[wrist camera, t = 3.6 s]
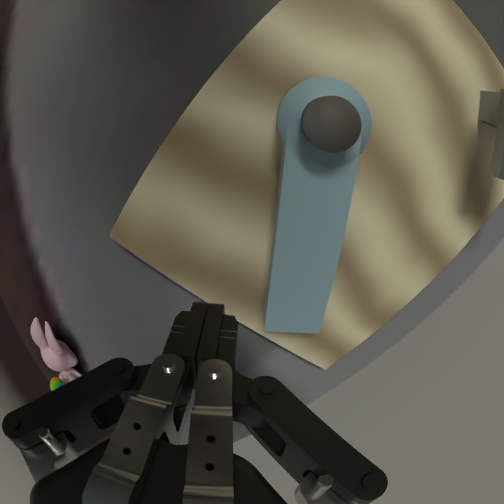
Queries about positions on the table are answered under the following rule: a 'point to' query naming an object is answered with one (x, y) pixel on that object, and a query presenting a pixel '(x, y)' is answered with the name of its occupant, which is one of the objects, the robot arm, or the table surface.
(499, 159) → the block
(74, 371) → the rabbit figure
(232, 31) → the table surface
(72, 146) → the table surface
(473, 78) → the pivot board
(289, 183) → the link
